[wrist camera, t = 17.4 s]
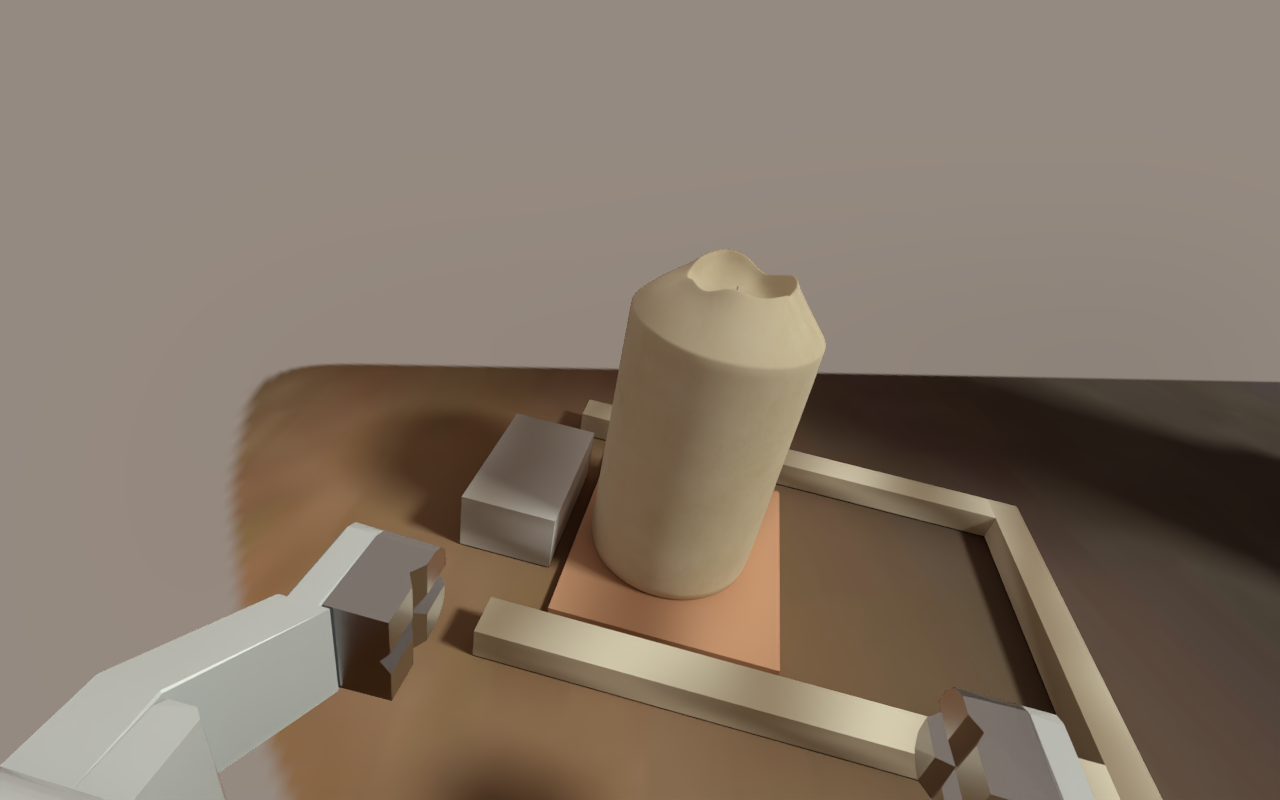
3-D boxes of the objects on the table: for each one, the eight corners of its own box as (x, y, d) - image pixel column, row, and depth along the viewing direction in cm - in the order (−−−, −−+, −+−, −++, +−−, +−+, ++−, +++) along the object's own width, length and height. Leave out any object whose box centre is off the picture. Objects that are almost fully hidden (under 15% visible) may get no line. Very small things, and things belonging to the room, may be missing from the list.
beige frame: (1005, 524, 27) (1028, 487, 26) (1151, 845, 16) (1201, 806, 15) (542, 407, 28) (547, 368, 27) (403, 635, 18) (401, 585, 17)
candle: (586, 482, 24) (631, 222, 19) (726, 491, 25) (805, 246, 20) (594, 600, 20) (654, 299, 14) (764, 605, 21) (879, 327, 15)
